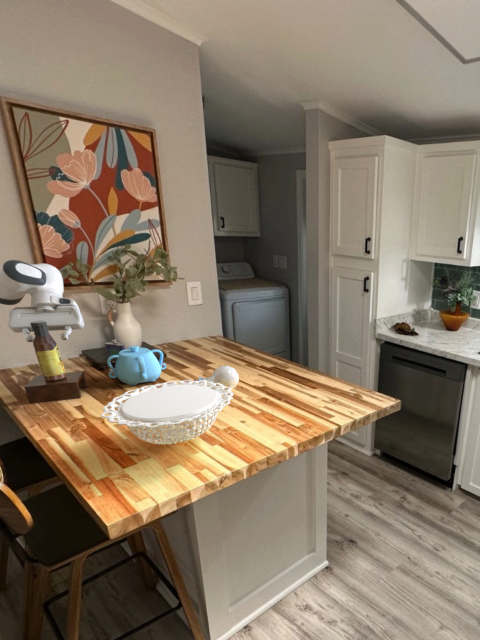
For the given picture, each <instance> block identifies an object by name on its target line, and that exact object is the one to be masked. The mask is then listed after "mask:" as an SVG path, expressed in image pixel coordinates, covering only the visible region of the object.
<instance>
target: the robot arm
mask: <svg viewBox="0 0 480 640" xmlns="http://www.w3.org/2000/svg"><path fill="white" fill-rule="evenodd" d="M64 287H65V286H64V279H63V275H62V273H61V271H60V270H59V269H58V268H56V266H53V265H52V264H48V263H42V262H41V263H35V264H32V263H27V262H26V261H22V260H17V259H9V260H6V261H5V262H4V263H2V265H1V266H0V304H1V305H4V306H15V305H17V304H18V305H19V303H21V301H22V300H23V299H24V297H25V296H26V295H28V294H29V296H30V306H15V307H14V308H12V309H10V310H9V314H8V315H9V319H8V324H7V326H8V328H9V329H10V330H11V331H12V332H13V333H15V334H17V333H23V334H24V335H25V339H26V342H27V343H33V341H34V338H35V336H33V335H31V333H34V331H33V328H32V326H31V322H33V321H46V323H47V328H48V332H55V331H64V333H60V339H61V340H62V341H69V336H70V335H71V334H72V333H73V331H75V330H83V328H84V327H85V320H84V317H83V315H82V312H81V310H80V307H79V305H78V303H77V301H75V300H74V299H71V298H68V297H67V298H66V297H64V296H63V295H64V291H65V289H64Z"/></svg>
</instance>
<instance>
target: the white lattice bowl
mask: <svg viewBox="0 0 480 640" xmlns="http://www.w3.org/2000/svg"><path fill="white" fill-rule="evenodd" d="M194 382H195V383H194ZM199 382H202V383H199ZM206 384H209V386H208V387H206ZM216 384H218V385H220V386H216ZM199 385H202V386H199ZM212 387H214V388H213V389H211V388H212ZM225 388H229V389H228V390H224V389H225ZM234 395H235V393H234V392H232V390H231V388H230V387H226V386H224V385H223V384H220V383H213V382H207V381H203V380H200V381H194V380H191V379H183V380H178V381H177V380H175V381H174V380H171V381H170V380H169V381H165V382H162V383H155V384H151V385H149V384H148V385H144V386H141V387H138V388H136V389H132V390H127V391H125V392H124V393H122V394H121V395H119V396H116V397H115V396H114V397H113V398H112V400H111V401H109V402H107V404H106V405H105V406H103V407H102V411H103V413H101V414H100V417H101V418H104V419H107V422H109V423H111V424H118V426H126V427H127V429H128V430H129V431H130V432H131V434H133V435H134V436H136V437H137V438H138V439H140V440H141V441H144V442H145V443H150V444H154V445H157V444H158V445H164V446H165V445H172V444H175V445H176V444H177V443H178V444H181V443H184V442H188V441H192V440H193V439H196V438H198V437H200V436H201V435H204V433H206V432H208V431H209V430H210V429H211V428H212V426H213V425H214V423H215V421H216V420H217V416H218V414H219V412H221V411H222V410H223V408H224V407H226V406H228V405H230V403H231V400H233V396H234ZM109 407H110V408H109Z"/></svg>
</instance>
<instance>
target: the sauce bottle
mask: <svg viewBox="0 0 480 640" xmlns="http://www.w3.org/2000/svg"><path fill="white" fill-rule="evenodd" d="M31 326H32V328H33V331H34V332H33V335H34V341H33V342H32V345H33V349H34V353H35V356H36V359H37V362H38V365H39V368H40V372H41V375H43V376H44V379H45V380H46V381H55V380H60V379H63V378H65V377H66V374H65V373H66V368H65V365H64V362H63V359H62V356H61V352H60V349H59V345H58V342H57V341H56V340H55V339H54V337H53V336H52V335H51V334H50V331H48V328H47V323H46V321H33V322H31Z"/></svg>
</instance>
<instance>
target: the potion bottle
mask: <svg viewBox="0 0 480 640" xmlns="http://www.w3.org/2000/svg"><path fill="white" fill-rule="evenodd" d="M200 380H203V381H207V382H213V383H220V384H223V385H224V386H226V387H230V388H231V391H232V390H234V389H236V388H237V386H238V385H239V382H240V378H239V373H238V372H237V370H236V368H234V367H232V366H230V365H220V366H218V367H216V368H215V369H214V370H213V372H212V374H211V376H208V377H202V376H198V379H193V381H200ZM194 383H195V382H194ZM199 383H202V382H199ZM199 386H202V385H199ZM208 386H209V384H206V387H208ZM216 386H220V385H218V384H216ZM211 389H215V388H214V387H212V388H211ZM228 389H229V388H225V389H224V390H228Z"/></svg>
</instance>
